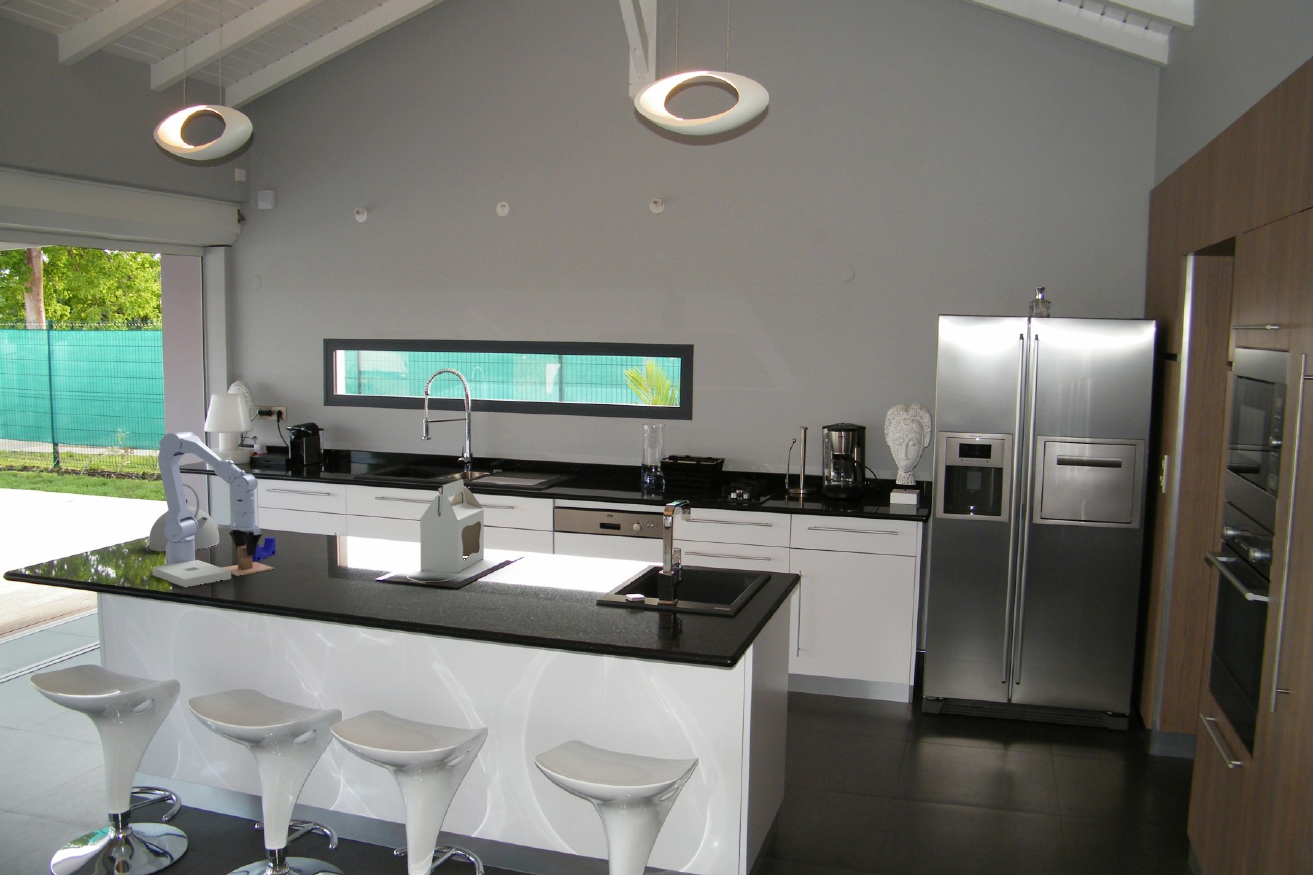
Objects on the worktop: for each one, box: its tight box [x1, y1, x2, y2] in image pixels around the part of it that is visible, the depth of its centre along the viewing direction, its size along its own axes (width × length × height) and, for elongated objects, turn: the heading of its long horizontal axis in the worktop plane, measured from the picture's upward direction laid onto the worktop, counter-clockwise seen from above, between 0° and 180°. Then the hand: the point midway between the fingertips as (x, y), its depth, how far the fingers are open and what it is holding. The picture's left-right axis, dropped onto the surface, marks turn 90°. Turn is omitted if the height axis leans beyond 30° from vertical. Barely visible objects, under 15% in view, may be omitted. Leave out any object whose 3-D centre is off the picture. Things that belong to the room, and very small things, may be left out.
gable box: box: [419, 478, 485, 573], centre depth 311 cm, size 22×13×28 cm, turn 169°
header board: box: [152, 559, 232, 588], centre depth 290 cm, size 22×14×2 cm, turn 51°
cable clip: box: [252, 536, 276, 562], centre depth 317 cm, size 12×4×6 cm, turn 173°
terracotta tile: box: [221, 561, 275, 577], centre depth 300 cm, size 12×12×1 cm
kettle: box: [148, 482, 220, 552], centre depth 333 cm, size 25×23×22 cm
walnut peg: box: [236, 544, 253, 570], centre depth 299 cm, size 3×3×7 cm
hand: (246, 553), depth 300 cm, fingers open, 5 cm apart
